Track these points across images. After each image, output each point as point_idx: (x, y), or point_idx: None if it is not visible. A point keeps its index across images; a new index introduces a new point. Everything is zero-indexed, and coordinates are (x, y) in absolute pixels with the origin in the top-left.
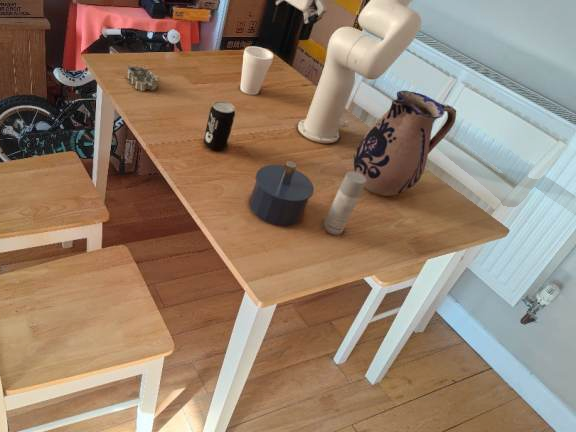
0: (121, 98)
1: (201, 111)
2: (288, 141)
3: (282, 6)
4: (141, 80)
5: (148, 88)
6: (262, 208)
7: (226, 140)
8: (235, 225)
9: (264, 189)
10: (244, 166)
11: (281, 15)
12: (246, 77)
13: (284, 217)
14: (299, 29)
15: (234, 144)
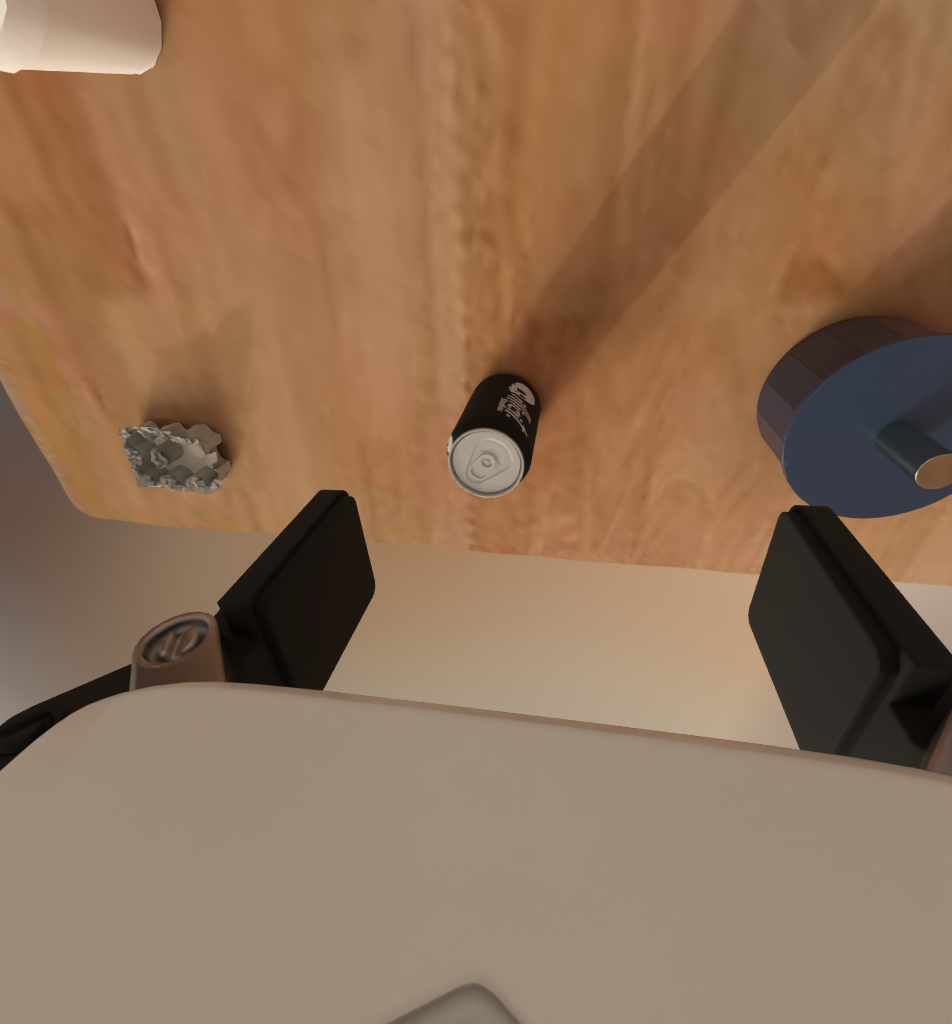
0: (275, 523)
1: (322, 350)
2: (545, 71)
3: (280, 678)
4: (179, 451)
5: (215, 447)
6: None
7: (536, 408)
8: None
9: (874, 516)
10: (628, 373)
11: (333, 591)
12: (96, 62)
13: None
14: (778, 695)
15: (513, 340)
